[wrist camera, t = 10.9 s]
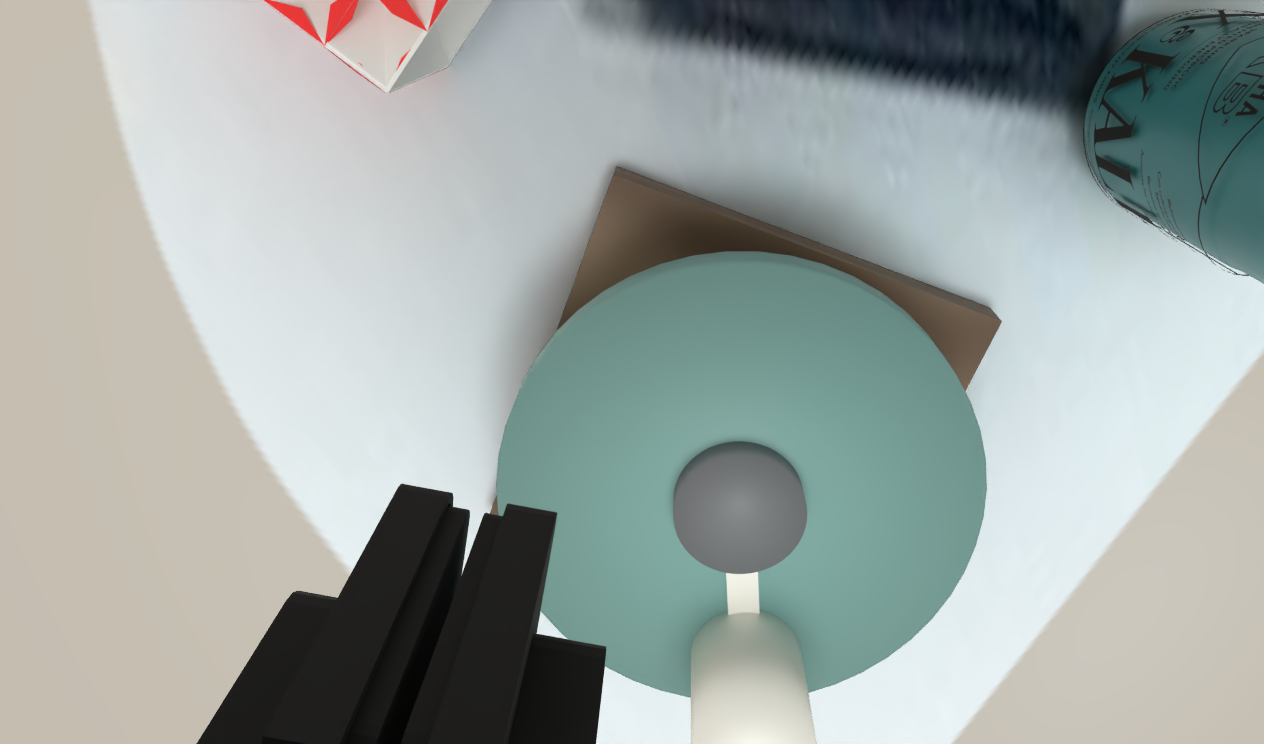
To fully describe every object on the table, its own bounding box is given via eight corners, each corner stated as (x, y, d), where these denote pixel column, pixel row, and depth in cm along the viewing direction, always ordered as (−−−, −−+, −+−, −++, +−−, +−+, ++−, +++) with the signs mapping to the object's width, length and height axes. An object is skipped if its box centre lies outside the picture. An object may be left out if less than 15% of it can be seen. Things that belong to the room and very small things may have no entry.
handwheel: (671, 740, 38) (668, 887, 32) (410, 416, 34) (351, 514, 28) (1057, 539, 35) (1136, 661, 29) (817, 151, 31) (850, 198, 25)
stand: (616, 166, 37) (605, 197, 32) (989, 307, 38) (1034, 358, 33) (492, 506, 42) (467, 578, 37) (827, 622, 43) (845, 707, 38)
